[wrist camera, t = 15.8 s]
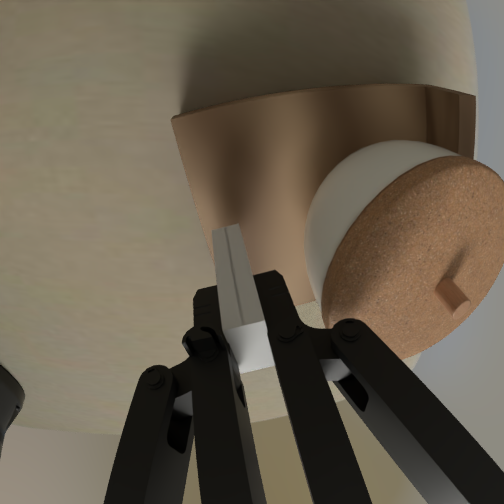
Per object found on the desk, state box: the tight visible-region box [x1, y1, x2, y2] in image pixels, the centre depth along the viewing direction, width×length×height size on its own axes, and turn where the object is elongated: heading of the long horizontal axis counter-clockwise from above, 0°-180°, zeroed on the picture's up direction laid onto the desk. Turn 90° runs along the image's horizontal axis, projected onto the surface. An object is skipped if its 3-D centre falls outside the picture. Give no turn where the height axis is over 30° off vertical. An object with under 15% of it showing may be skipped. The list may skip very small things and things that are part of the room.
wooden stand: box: [171, 84, 476, 306], centre depth 17 cm, size 16×14×7 cm
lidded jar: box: [304, 140, 504, 360], centre depth 13 cm, size 11×11×9 cm
